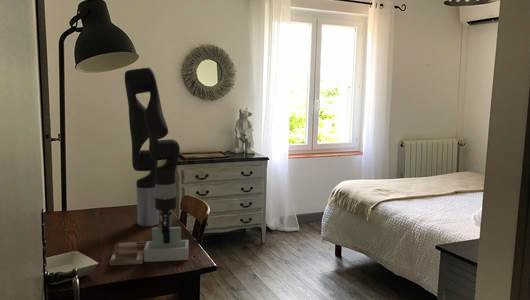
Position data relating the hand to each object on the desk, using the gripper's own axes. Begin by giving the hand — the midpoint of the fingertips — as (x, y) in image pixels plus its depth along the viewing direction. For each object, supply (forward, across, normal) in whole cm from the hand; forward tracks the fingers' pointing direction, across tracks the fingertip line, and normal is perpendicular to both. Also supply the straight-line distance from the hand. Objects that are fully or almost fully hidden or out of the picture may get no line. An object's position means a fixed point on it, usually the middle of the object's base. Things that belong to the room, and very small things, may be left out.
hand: (166, 242), depth 170 cm
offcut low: (+4, +5, -14) cm, 15 cm away
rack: (+5, 0, -14) cm, 15 cm away
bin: (+5, 0, 0) cm, 5 cm away
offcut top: (+1, +5, -13) cm, 14 cm away
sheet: (+4, 0, 0) cm, 4 cm away
